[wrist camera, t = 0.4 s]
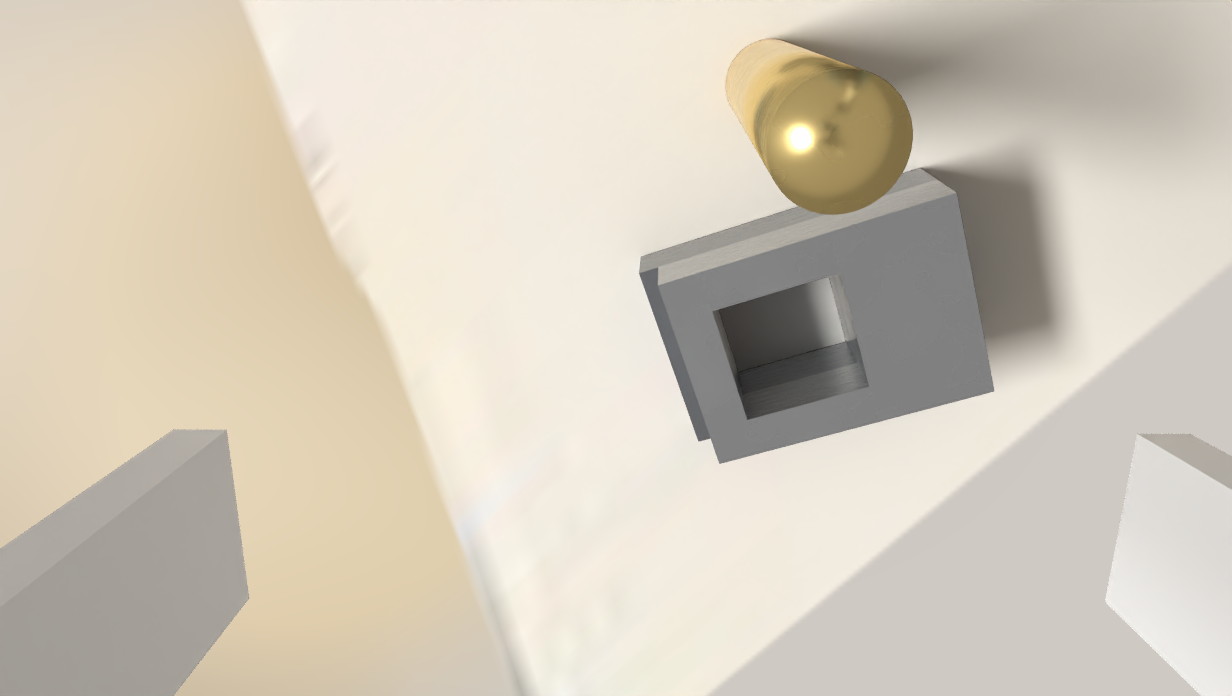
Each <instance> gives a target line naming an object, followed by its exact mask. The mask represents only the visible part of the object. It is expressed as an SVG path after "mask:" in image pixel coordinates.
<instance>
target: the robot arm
mask: <svg viewBox="0 0 1232 696" xmlns="http://www.w3.org/2000/svg"><path fill="white" fill-rule="evenodd" d="M248 599H249V594H248V586H247V579H246V571H245V565H244V557H243V549H242V541H241V534H240V526H239V519H238V512H237V504H236V496H235V489H234V481H233V475H232V467H231V459H230V452H229V444H228V437H227V430H172V431H171V432H169V433H168V434H166V435H165V436H163V437H162V438H160V439H159V440H158V441H156V442H155V443H153V444H152V445H150V446H149V447H147V448H146V449H145V450H143V451H142V452H140V453H139V454H137V455H136V456H135V457H133V458H131V459H130V460H129V461H127V462H126V463H124V464H123V465H121V466H120V467H118V468H117V469H115V470H114V471H113V472H111V473H110V474H108V475H107V476H105V477H104V478H102V479H101V480H100V481H98V482H97V483H95V484H94V485H92V486H91V487H90V488H88V489H86V490H85V491H84V492H82V493H81V494H79V495H78V496H76V497H75V498H73V499H72V500H70V501H69V502H68V503H66V504H65V505H63V506H62V507H60V508H59V509H57V510H56V511H54V512H53V513H52V514H50V515H49V516H47V517H46V518H44V519H43V520H41V521H40V522H39V523H37V524H36V525H34V526H33V527H31V528H30V529H28V530H27V531H26V532H24V533H22V534H21V535H20V536H18V537H17V538H15V539H14V540H12V541H11V542H9V543H8V544H6V545H5V546H4V547H2V548H1V549H0V696H174V695H175V693H176V692H177V691H178V689H179V688H180V687H181V686H182V684H183V683H184V682H185V680H186V679H187V678H188V676H189V675H190V674H191V673H192V671H193V670H194V669H195V667H196V666H197V665H198V664H199V662H200V661H201V660H202V658H203V657H204V656H205V655H206V653H207V652H208V651H209V649H210V648H211V647H212V645H213V644H214V643H215V642H216V640H217V639H218V638H219V637H220V635H221V634H222V632H223V631H224V630H225V629H226V627H227V626H228V625H229V624H230V622H231V621H232V620H233V618H234V617H235V616H236V615H237V613H238V612H239V610H240V609H241V608H242V607H243V606H244V604H245V603H246V602H247V600H248ZM1105 601H1106V603H1107V604H1108V605H1109V606H1110V607H1111V608H1112V609H1113V610H1114V611H1115V612H1116V613H1117V614H1118V615H1119V616H1120V617H1121V618H1122V619H1123V620H1124V621H1125V622H1126V623H1127V624H1128V625H1129V626H1131V628H1133V629H1134V630H1135V631H1136V632H1137V633H1138V634H1139V635H1140V636H1141V637H1142V638H1143V639H1144V640H1145V641H1146V642H1147V643H1148V644H1149V645H1150V646H1151V647H1152V648H1153V649H1154V650H1155V651H1156V652H1157V653H1158V654H1159V655H1160V656H1161V657H1162V658H1163V659H1164V660H1165V661H1166V662H1167V663H1168V664H1169V665H1171V666H1172V668H1174V669H1175V670H1176V671H1177V672H1178V673H1179V674H1180V675H1181V676H1182V677H1183V678H1184V679H1185V680H1186V681H1187V682H1188V683H1189V684H1190V685H1191V686H1192V687H1193V688H1194V689H1195V690H1196V691H1197V692H1198V693H1199V694H1200V695H1201V696H1232V456H1230V455H1228V454H1226V453H1225V452H1223V451H1221V450H1219V449H1217V448H1215V447H1213V446H1212V445H1210V444H1208V443H1206V442H1204V441H1202V440H1200V439H1198V438H1197V437H1195V436H1193V435H1191V434H1137V438H1136V443H1135V448H1134V453H1133V459H1132V464H1131V470H1130V475H1129V480H1128V485H1127V490H1126V495H1125V501H1124V506H1123V511H1122V517H1121V522H1120V527H1119V532H1118V538H1117V543H1116V548H1115V553H1114V558H1113V563H1112V569H1111V574H1110V580H1109V584H1108V590H1107V595H1106V600H1105Z"/></svg>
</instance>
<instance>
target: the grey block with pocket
mask: <svg viewBox="0 0 1232 696" xmlns="http://www.w3.org/2000/svg"><path fill="white" fill-rule="evenodd" d="M639 274H640V277H641V280H642V283H643V285H644V288H645V291H646V294H647V297H648V300H649V302H650V305H651V308H652V311H653V314H654V317H655V319H656V322H657V325H658V328H659V331H660V334H661V336H662V339H663V342H664V345H665V348H666V351H667V353H668V356H669V359H670V362H671V365H672V368H673V370H674V373H675V376H676V379H677V382H678V385H679V387H680V390H681V393H682V396H683V399H684V402H685V404H686V407H687V410H688V413H689V416H690V419H691V421H692V424H693V427H694V430H695V433H696V436H697V438H698V441H702V440H706V439H710V438H711V441H712V443H713V446H714V449H715V452H716V455H717V458H718V461H719V464H721V463H725V462H728V461H732V460H736V459H740V458H744V457H747V456H751V455H755V454H759V453H763V452H766V451H770V450H774V449H778V448H781V447H785V446H789V445H793V444H797V443H800V442H804V441H808V440H812V439H816V438H819V437H823V436H827V435H831V434H834V433H838V432H842V431H846V430H850V429H853V428H857V427H861V426H865V425H869V424H872V423H876V422H880V421H884V420H887V419H891V418H895V417H899V416H903V415H906V414H910V413H914V412H918V411H922V410H925V409H929V408H933V407H937V406H940V405H944V404H948V403H952V402H956V401H959V400H963V399H967V398H971V397H975V396H978V395H982V394H986V393H990V392H993V391H994V387H993V381H992V376H991V371H990V366H989V360H988V355H987V350H986V344H985V339H984V334H983V329H982V323H981V318H980V313H979V307H978V302H977V297H976V292H975V286H974V281H973V276H972V270H971V265H970V260H969V255H968V249H967V244H966V239H965V233H964V228H963V223H962V218H961V212H960V207H959V202H958V196H957V192H955V191H954V190H952V189H951V188H949V187H948V186H946V185H945V184H943V183H942V182H940V181H939V180H937V179H936V178H934V177H933V176H931V175H930V174H928V173H927V172H925V171H924V170H922V169H921V168H918V169H915V170H912V171H909V172H906V173H902V174H901V176H900V177H899V179H898V180H897V182H896V183H895V184H894V185H893V187H892V188H891V189H890V190H889V191H888V192H887V193H886V194H885V195H883V196H882V197H881V198H880V199H878V200H877V201H875V202H874V203H872V204H870V205H869V206H867V207H865V208H862V209H860V210H857V211H854V212H850V213H846V214H838V215H826V214H819V213H815V212H811V211H808V210H806V209H804V208H801V207H800V206H799V207H796V208H793V209H790V210H786V211H783V212H780V213H777V214H774V215H771V216H768V217H764V218H761V219H758V220H755V221H752V222H749V223H746V224H742V225H739V226H736V227H733V228H730V229H727V230H724V231H721V232H717V233H714V234H711V235H708V236H705V237H702V238H699V239H695V240H692V241H689V242H686V243H683V244H680V245H677V246H673V247H670V248H667V249H664V250H661V251H658V252H655V253H651V254H648V255H645V256H642V257H641V261H640V270H639ZM825 277H829V279H830V283H831V286H832V290H833V294H834V298H835V302H836V306H837V309H838V313H839V317H840V321H841V325H842V329H843V333H844V336H845V340H846V342H843V343H840V344H836V345H833V346H829V347H826V348H822V349H819V350H815V351H812V352H808V353H805V354H801V355H798V356H794V357H791V358H787V359H784V360H780V361H777V362H773V363H770V364H766V365H763V366H759V367H756V368H752V369H749V370H745V371H742V372H738V370H737V367H736V364H735V361H734V358H733V354H732V351H731V348H730V345H729V342H728V339H727V336H726V332H725V329H724V326H723V323H722V320H721V317H720V314H719V311H718V310H719V309H722V308H725V307H729V306H732V305H735V304H739V303H742V302H745V301H749V300H752V299H755V298H759V297H762V296H765V295H769V294H772V293H775V292H779V291H782V290H785V289H789V288H792V287H795V286H799V285H802V284H805V283H809V282H812V281H815V280H819V279H822V278H825Z"/></svg>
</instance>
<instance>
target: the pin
mask: <svg viewBox="0 0 1232 696" xmlns="http://www.w3.org/2000/svg"><path fill="white" fill-rule="evenodd" d="M726 95H727V99H728V102H729V104H730V106H731V108H732V110H733V111H734V113H735V115H736V116H737V118H738V120H739V122H740V123H741V125H742V127H743V128H744V130H745V132H746V133H747V135H748V137H749V139H750V140H751V142H752V144H753V145H754V147H755V149H756V151H757V152H758V154H759V156H760V157H761V159H762V161H763V162H764V164H765V166H766V168H767V169H768V171H769V173H770V174H771V176H772V178H773V180H774V181H775V183H776V185H777V186H778V187H779V189H780V190H781V192H782V193H783V194H784V195H785V196H786V197H787V198H788V199H790V200H791V201H792V202H793V203H795V204H796V205H798V206H800V207H801V208H804V209H806V210H808V211H811V212H815V213H819V214H826V215H838V214H846V213H850V212H854V211H857V210H860V209H862V208H865V207H867V206H869V205H870V204H872V203H874V202H875V201H877V200H878V199H880V198H881V197H882V196H883V195H885V194H886V193H887V192H888V191H889V190H890V189H891V188H892V187H893V185H894V184H895V183H896V182H897V180H898V179H899V177H900V176H901V174H902V172H903V171H904V169H905V167H906V164H907V162H908V159H909V156H910V152H911V148H912V140H913V129H912V121H911V117H910V114H909V110H908V108H907V106H906V104H905V102H904V100H903V99H902V97H901V95H900V94H899V93H898V92H897V91H896V89H895V88H894V87H893V86H892V85H890V84H889V83H888V82H887V81H885V80H884V79H882V78H881V77H879V76H877V75H875V74H872V73H870V72H867V71H864V70H862V69H859V68H856V67H853V66H851V65H848V64H845V63H842V62H840V61H837V60H834V59H831V58H829V57H826V56H823V55H820V54H818V53H815V52H812V51H809V50H807V49H804V48H801V47H798V46H796V45H793V44H790V43H787V42H785V41H781V40H777V39H765V40H760V41H756V42H754V43H752V44H750V45H748V46H747V47H745V48H744V49H743V50H741V51H740V52H739V53H738V54H737V56H736V57H735V58H734V60H733V61H732V63H731V65H730V67H729V69H728V73H727V76H726Z"/></svg>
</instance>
